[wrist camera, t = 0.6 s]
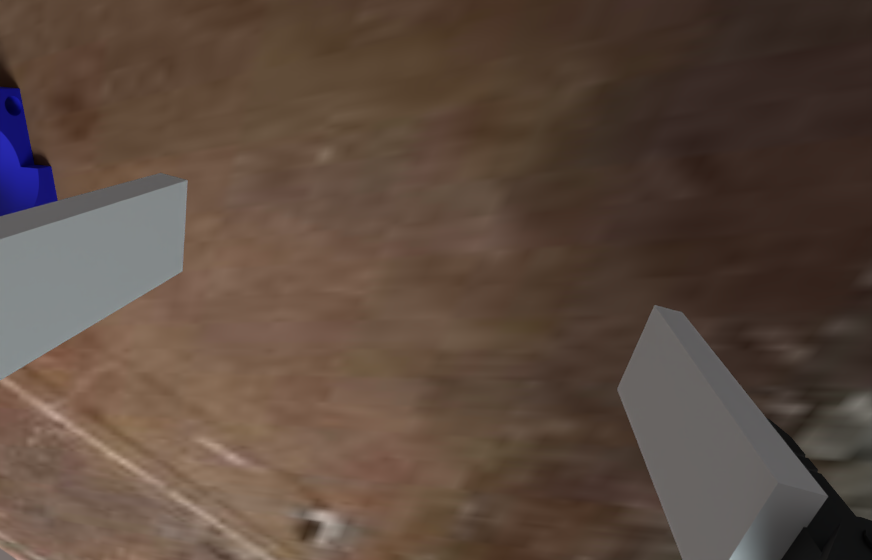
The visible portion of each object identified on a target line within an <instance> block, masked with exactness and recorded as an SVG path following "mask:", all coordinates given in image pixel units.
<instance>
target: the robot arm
mask: <svg viewBox="0 0 872 560" xmlns="http://www.w3.org/2000/svg"><path fill="white" fill-rule="evenodd" d="M187 181H188V180H185V179H181V178H177V177H174V176H170V175H166V174H162V173H159V174H156V175H152V176H148V177H144V178H141V179H137V180H133V181H130V182H126V183H122V184H118V185H115V186H111V187H107V188H104V189H100V190H96V191H92V192H89V193H85V194H81V195H78V196H74V197H70V198H66V199H63V200H59V201H55V202H52V203H48V204H44V205H40V206H37V207H33V208H29V209H26V210H22V211H18V212H14V213H11V214H7V215H3V216H0V380H1V379H3V378H5V377H6V376H8V375H10V374H11V373H13V372H15V371H17V370H18V369H20V368H22V367H23V366H25V365H27V364H28V363H30V362H32V361H33V360H35V359H37V358H38V357H40V356H42V355H43V354H45V353H47V352H48V351H50V350H52V349H53V348H55V347H57V346H58V345H60V344H62V343H63V342H65V341H67V340H68V339H70V338H72V337H73V336H75V335H77V334H78V333H80V332H82V331H83V330H85V329H87V328H88V327H90V326H92V325H93V324H95V323H97V322H98V321H100V320H102V319H103V318H105V317H107V316H109V315H110V314H112V313H114V312H115V311H117V310H119V309H120V308H122V307H124V306H125V305H127V304H129V303H130V302H132V301H134V300H135V299H137V298H139V297H140V296H142V295H144V294H145V293H147V292H149V291H150V290H152V289H154V288H155V287H157V286H159V285H160V284H162V283H164V282H165V281H167V280H169V279H170V278H172V277H174V276H175V275H177V274H179V273H180V272H182V270H183V252H184V234H185V216H186V199H187ZM617 390H618V393H619V395H620V398H621V400H622V403H623V406H624V408H625V411H626V413H627V416H628V419H629V421H630V424H631V426H632V429H633V432H634V434H635V437H636V439H637V442H638V445H639V447H640V450H641V453H642V455H643V458H644V460H645V463H646V466H647V468H648V471H649V473H650V476H651V479H652V481H653V484H654V486H655V489H656V492H657V494H658V497H659V499H660V502H661V505H662V507H663V510H664V512H665V515H666V518H667V520H668V523H669V526H670V528H671V531H672V533H673V536H674V539H675V541H676V544H677V546H678V549H679V552H680V554H681V557H682V559H683V560H872V521H871V520H868V519H865V518H862V517H856V516H855V515H854V513H853V512H852V511H851V510H850V508H849V507H848V506H847V505H846V504H845V502H844V501H843V500H842V499H841V497H840V496H839V495H838V494H837V493H836V491H835V490H834V489H833V488H832V486H831V485H830V484H829V483H828V482H827V480H826V479H825V478H824V477H823V476H822V474H820V473H817V471H818V469H817V468H816V467H815V466H814V465H813V463H812V462H811V461H810V460H809V458H805V454H804V452H803V451H802V450H801V449H800V447H799V446H798V445H797V444H796V443H795V441H794V440H793V439H792V438H791V437H790V436H789V435H788V434H787V433H785V432H784V431H783V430H782V429H781V428H779V427H778V426H777V425H776V424H774V423H773V422H772V421H771V420H769V419H767V418H766V417H765V416H764V415H763V413H762V412H761V411H760V410H759V408H758V407H757V406H756V405H755V403H754V402H753V401H752V400H751V398H750V397H749V396H748V395H747V393H746V392H745V391H744V390H743V388H742V387H741V386H740V385H739V383H738V382H737V381H736V379H735V378H734V377H733V376H732V374H731V373H730V372H729V371H728V369H727V368H726V367H725V366H724V364H723V363H722V362H721V361H720V359H719V358H718V357H717V356H716V354H715V353H714V352H713V350H712V349H711V348H710V347H709V345H708V344H707V343H706V342H705V340H704V339H703V338H702V337H701V335H700V334H699V333H698V332H697V330H696V329H695V328H694V327H693V325H692V324H691V323H690V321H689V320H688V319H687V318H686V316H685V315H684V314H683V313H682V312H679V311H675V310H671V309H668V308H664V307H660V306H656V305H654V307H653V310H652V312H651V314H650V316H649V319H648V321H647V323H646V325H645V328H644V330H643V332H642V334H641V337H640V339H639V341H638V343H637V346H636V348H635V350H634V352H633V355H632V357H631V359H630V361H629V364H628V366H627V368H626V370H625V373H624V375H623V377H622V379H621V382H620V384H619V386H618V388H617Z"/></svg>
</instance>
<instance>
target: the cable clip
mask: <svg viewBox="0 0 872 560" xmlns="http://www.w3.org/2000/svg"><path fill="white" fill-rule="evenodd" d="M55 201H57V195H56V190H55V185H54V179H53V174H52V169H51V166H43V165H34V160H33V155H32V150H31V145H30V140H29V135H28V130H27V125H26V120H25V115H24V109H23V104H22V99H21V94H20V89H19V88H8V87H0V216H3V215H7V214H11V213H14V212H18V211H22V210H26V209H29V208H33V207H37V206H40V205H44V204H48V203H52V202H55Z"/></svg>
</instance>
